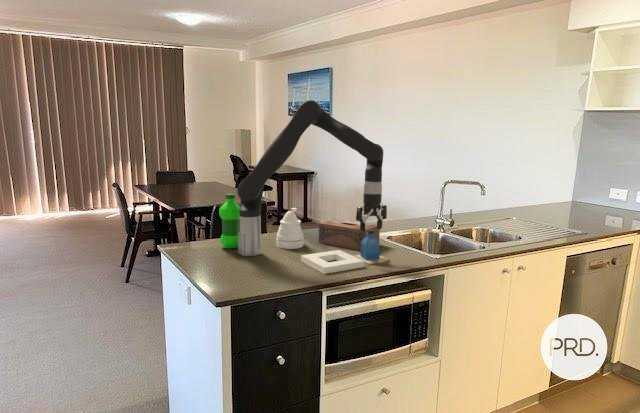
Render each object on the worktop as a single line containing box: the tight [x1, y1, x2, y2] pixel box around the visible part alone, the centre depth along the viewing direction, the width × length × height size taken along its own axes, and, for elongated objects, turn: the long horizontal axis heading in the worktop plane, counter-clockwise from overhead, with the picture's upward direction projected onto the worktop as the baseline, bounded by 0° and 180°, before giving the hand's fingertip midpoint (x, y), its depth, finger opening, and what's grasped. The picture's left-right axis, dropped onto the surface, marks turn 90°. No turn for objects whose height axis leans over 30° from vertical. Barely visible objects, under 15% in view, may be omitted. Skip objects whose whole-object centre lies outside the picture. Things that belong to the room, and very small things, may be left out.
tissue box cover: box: [318, 218, 381, 251], centre depth 216 cm, size 26×14×10 cm, turn 56°
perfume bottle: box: [360, 230, 381, 260], centre depth 190 cm, size 6×6×12 cm
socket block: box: [300, 249, 365, 275], centre depth 183 cm, size 19×19×2 cm
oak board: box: [353, 253, 391, 266], centre depth 191 cm, size 12×12×1 cm
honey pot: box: [276, 207, 304, 250], centre depth 211 cm, size 13×13×18 cm
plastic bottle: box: [218, 193, 240, 249], centre depth 205 cm, size 10×10×25 cm
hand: (370, 229), depth 189 cm, fingers open, 8 cm apart
